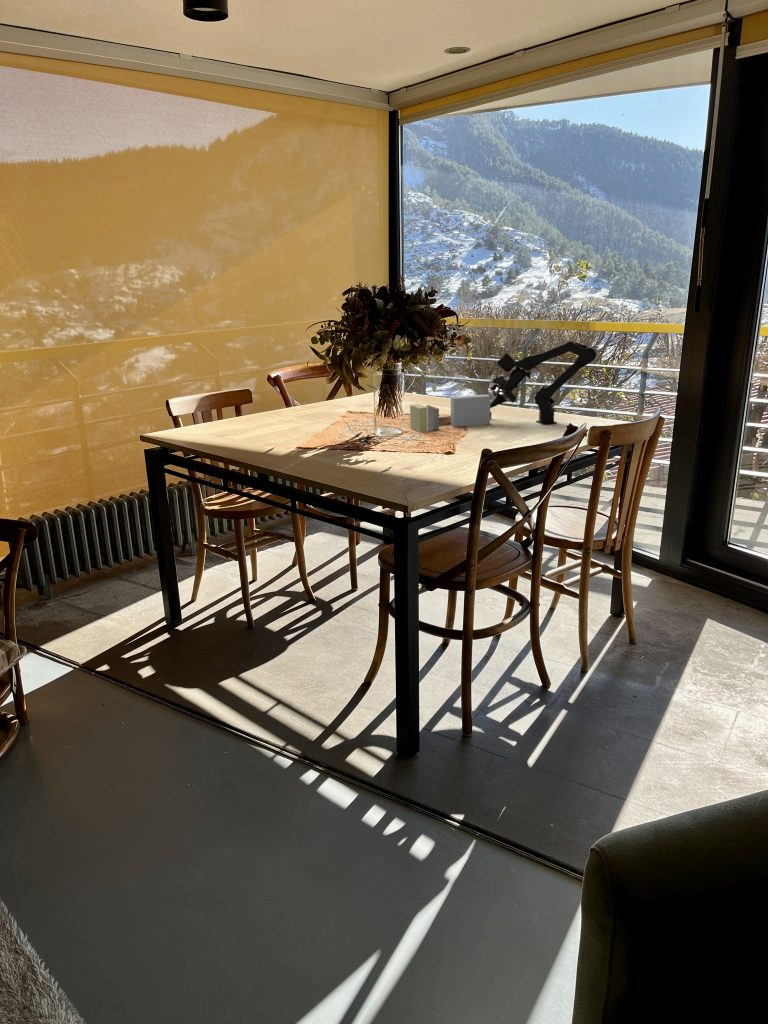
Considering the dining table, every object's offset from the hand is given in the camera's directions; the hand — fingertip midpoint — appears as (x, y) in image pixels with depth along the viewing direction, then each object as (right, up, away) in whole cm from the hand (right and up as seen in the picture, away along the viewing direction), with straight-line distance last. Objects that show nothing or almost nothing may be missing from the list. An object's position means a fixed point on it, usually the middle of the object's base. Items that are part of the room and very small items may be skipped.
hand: (488, 407), depth 330 cm
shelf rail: (-12, -5, +6) cm, 14 cm away
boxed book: (-8, -7, 0) cm, 11 cm away
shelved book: (-30, -10, -7) cm, 33 cm away
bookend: (-27, -10, -6) cm, 29 cm away
